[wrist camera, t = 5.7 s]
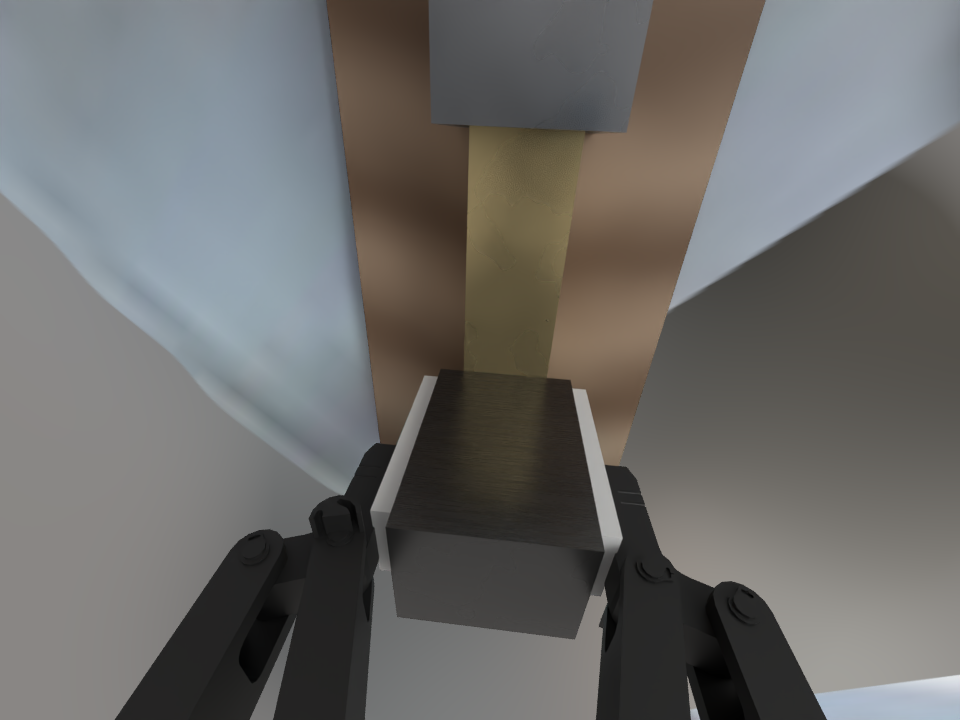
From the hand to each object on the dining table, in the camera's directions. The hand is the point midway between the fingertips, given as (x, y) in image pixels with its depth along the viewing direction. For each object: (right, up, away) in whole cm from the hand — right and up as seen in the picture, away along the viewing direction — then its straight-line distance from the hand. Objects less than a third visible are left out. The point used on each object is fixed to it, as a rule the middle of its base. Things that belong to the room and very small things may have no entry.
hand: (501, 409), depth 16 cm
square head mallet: (0, +4, +1) cm, 4 cm away
